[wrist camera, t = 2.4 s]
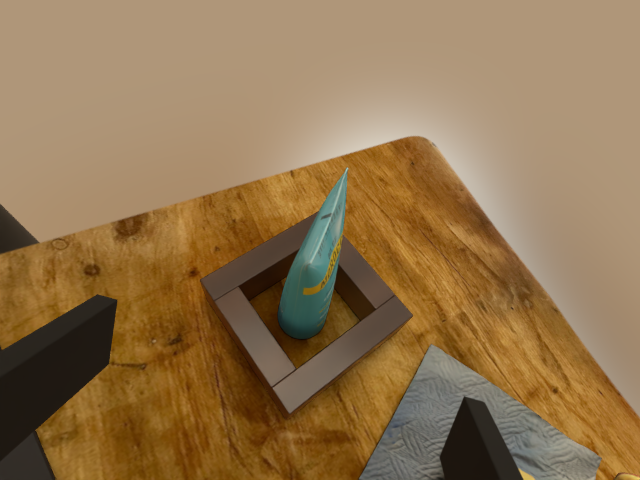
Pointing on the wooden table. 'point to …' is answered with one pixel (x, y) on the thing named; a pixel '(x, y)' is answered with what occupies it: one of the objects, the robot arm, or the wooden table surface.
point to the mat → (26, 461)
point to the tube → (314, 269)
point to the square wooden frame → (260, 345)
